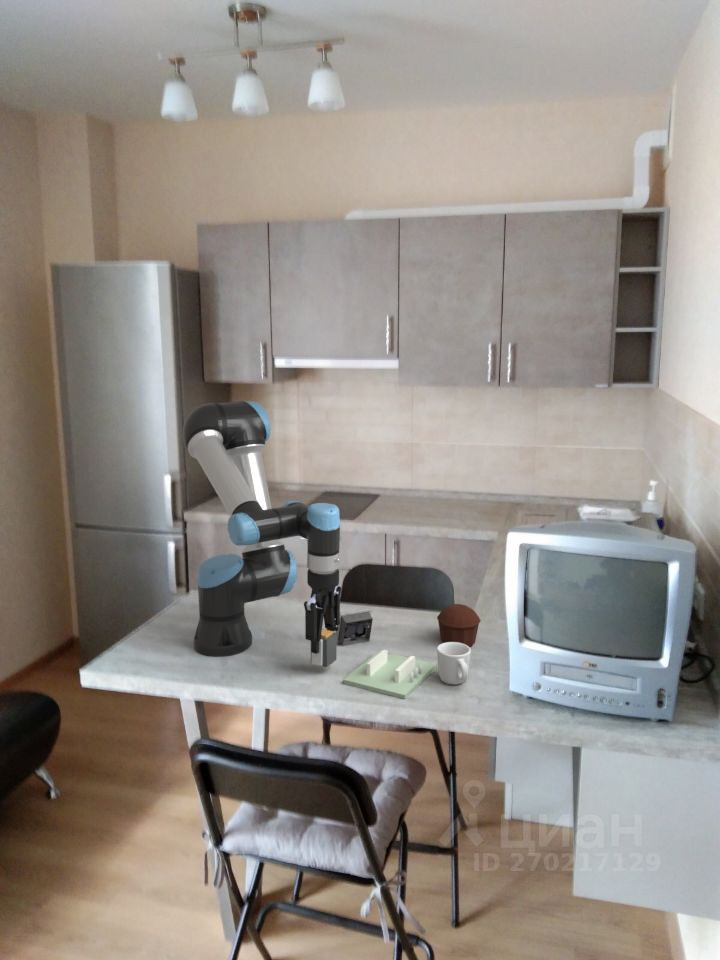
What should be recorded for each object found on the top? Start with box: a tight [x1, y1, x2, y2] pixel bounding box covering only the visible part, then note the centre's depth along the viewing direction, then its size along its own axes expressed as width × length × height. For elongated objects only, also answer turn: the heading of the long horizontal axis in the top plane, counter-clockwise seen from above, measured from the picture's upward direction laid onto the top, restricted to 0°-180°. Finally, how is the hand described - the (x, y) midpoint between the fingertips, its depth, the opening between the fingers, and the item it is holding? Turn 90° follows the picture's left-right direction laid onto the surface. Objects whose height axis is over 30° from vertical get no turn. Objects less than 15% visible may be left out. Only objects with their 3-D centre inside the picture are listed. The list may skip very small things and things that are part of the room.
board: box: [343, 649, 438, 700], centre depth 180 cm, size 16×18×4 cm
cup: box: [436, 642, 472, 685], centre depth 176 cm, size 11×8×8 cm
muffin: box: [436, 603, 482, 648], centre depth 199 cm, size 12×11×10 cm
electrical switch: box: [335, 607, 374, 647], centre depth 199 cm, size 9×5×9 cm, turn 113°
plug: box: [310, 628, 337, 668], centre depth 182 cm, size 4×4×8 cm
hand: (322, 659), depth 183 cm, fingers closed on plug, 4 cm apart
